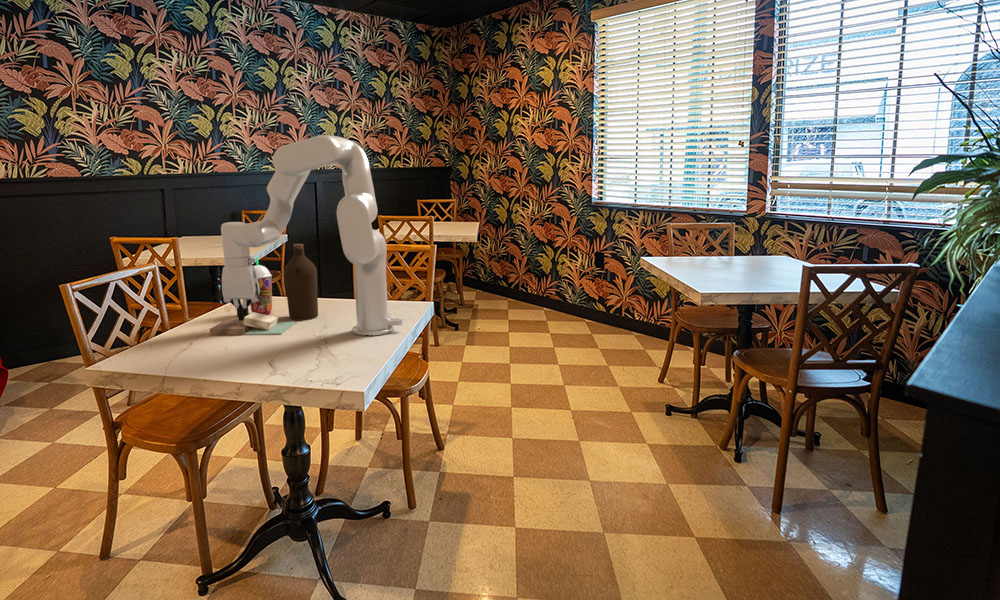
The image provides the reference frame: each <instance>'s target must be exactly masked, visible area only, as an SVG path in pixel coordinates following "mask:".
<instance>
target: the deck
mask: <svg viewBox="0 0 1000 600" xmlns="http://www.w3.org/2000/svg"><path fill="white" fill-rule="evenodd" d="M243 323H244V321H239V318H238V317H228V318H225V319H224V320H223V321H220V322H219V323H218V324H215V325H214V326H212V327H210V328H209V336H244V335H245V333H247V332H248V331H249V330H251V329H252V328H254V327H251V326H246V325H243Z"/></svg>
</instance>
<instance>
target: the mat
mask: <svg viewBox="0 0 1000 600" xmlns="http://www.w3.org/2000/svg"><path fill="white" fill-rule="evenodd" d="M295 324H296V321H277V325H275V326H274V327H273V328H271V329H270V330H265V329H260V328H256V327H254V328H252V329H251V330H249V331H248V332H247V333H245V334H244V335H245V336H252V335H253V336H258V335H259V336H260V335H262V336H264V335H269V336H271V335H273V336H274V335H282V334H285V332H286V331H287V330H289V329H290V328H291V327H293V326H294V325H295Z"/></svg>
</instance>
